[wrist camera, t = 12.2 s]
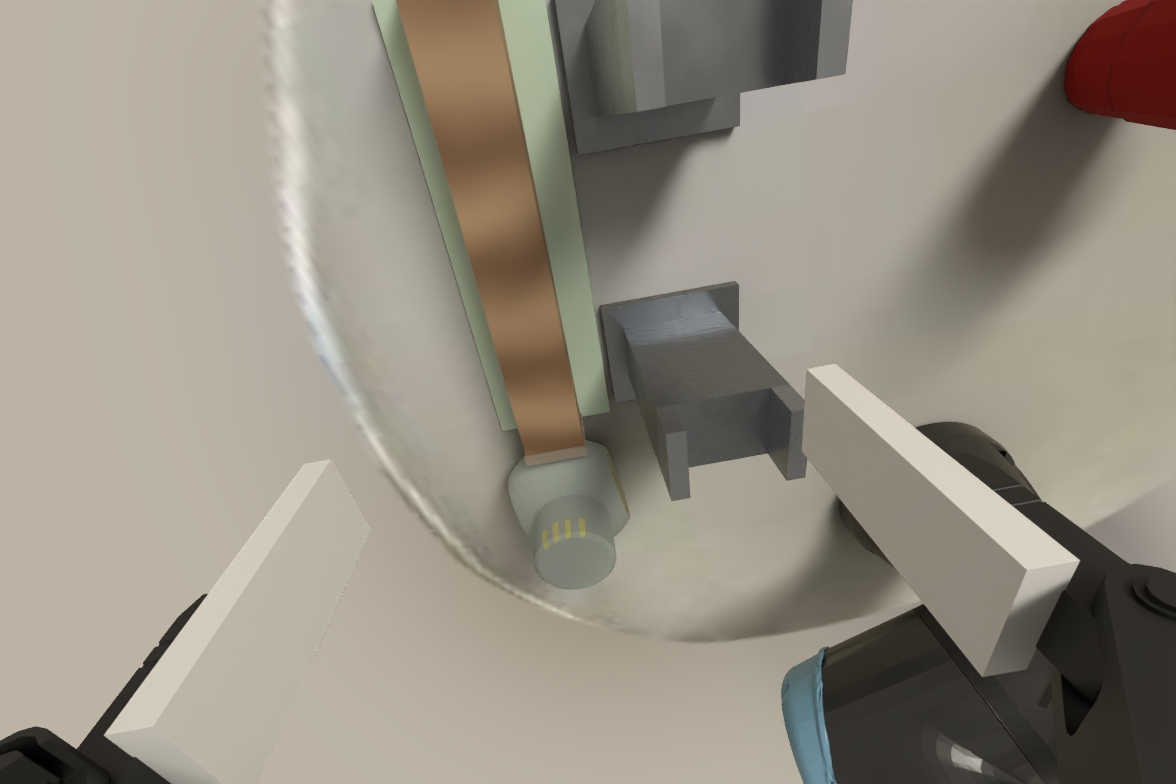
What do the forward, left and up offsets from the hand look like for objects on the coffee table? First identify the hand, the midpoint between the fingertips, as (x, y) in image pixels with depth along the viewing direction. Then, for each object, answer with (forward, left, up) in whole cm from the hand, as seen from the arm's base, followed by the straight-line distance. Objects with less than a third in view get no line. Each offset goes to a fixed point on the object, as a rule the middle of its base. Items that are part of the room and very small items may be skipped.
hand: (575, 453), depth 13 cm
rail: (+1, +3, -22) cm, 22 cm away
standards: (+1, -8, -22) cm, 24 cm away
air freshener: (-19, +2, -23) cm, 30 cm away
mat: (+1, +2, -22) cm, 22 cm away
